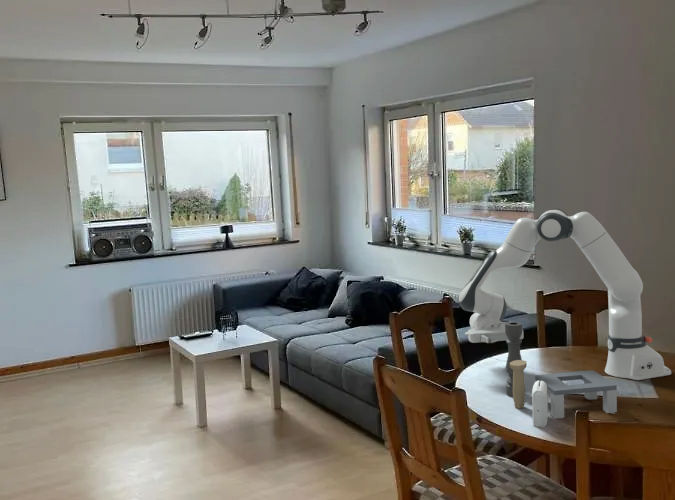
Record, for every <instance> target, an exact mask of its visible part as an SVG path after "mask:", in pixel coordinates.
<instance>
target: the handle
mask: <svg viewBox="0 0 675 500" xmlns="http://www.w3.org/2000/svg"><path fill="white" fill-rule="evenodd" d="M510 368H511V369H513V397H512V399H513V404H514V408H515V409H518V410H519V409H524V408H525V402H526V385H525V373H524V370H525V369H527V360H524V359H523V360H515V361H512V362H510Z"/></svg>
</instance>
